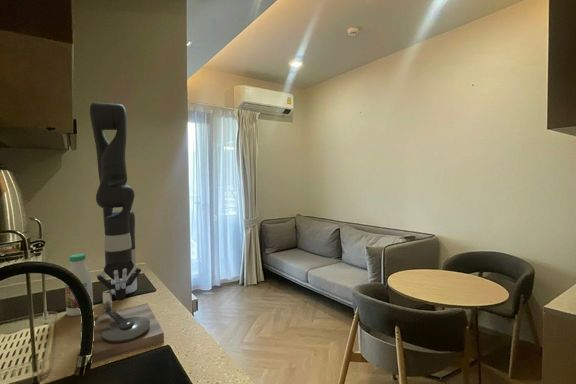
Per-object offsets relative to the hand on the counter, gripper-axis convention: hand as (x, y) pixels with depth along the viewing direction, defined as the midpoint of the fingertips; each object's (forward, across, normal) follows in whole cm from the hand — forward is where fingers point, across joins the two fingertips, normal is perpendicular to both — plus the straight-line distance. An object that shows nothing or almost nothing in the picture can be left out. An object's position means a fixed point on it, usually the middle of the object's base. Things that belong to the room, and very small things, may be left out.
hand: (120, 299), depth 97 cm
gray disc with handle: (+4, +2, +10) cm, 11 cm away
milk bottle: (+7, +10, -16) cm, 21 cm away
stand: (+7, +1, +9) cm, 12 cm away
